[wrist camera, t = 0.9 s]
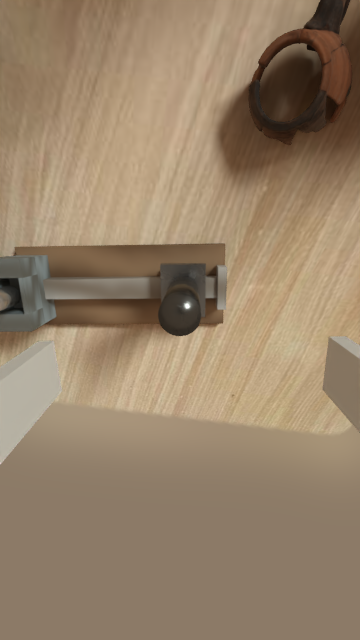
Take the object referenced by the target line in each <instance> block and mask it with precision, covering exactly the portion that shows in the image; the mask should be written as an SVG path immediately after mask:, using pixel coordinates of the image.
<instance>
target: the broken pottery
mask: <svg viewBox="0 0 360 640" xmlns="http://www.w3.org/2000/svg"><path fill="white" fill-rule="evenodd" d="M349 2H350V0H320V2H319V5H318V7H317V10H316V12H315V14H314V16H313V17H312V18H311V20H310V21H309V22H307V23H306V25H305V26H304V28H303V29H297V30H293V31H290V32H288V33H285V34H283V35H282V36H280V37H278V38H277V39H276V40H275V41H274V42H272V43H271V44H270V46H268V47H267V48H266V50H265V51H264V53H263V54H262V56H261V57H260V59H259V61H258V63H259V67H258V69H257V70H256V71H255V73H254V76H253V79H252V82H251V85H250V89H249V107H250V112H251V115H252V118H253V121H254V123H255V125H256V126H257V128H258V129H259V130H260V131H262V130H263V132H264V134H265V135H266V136H268V137H270V138H273V139H277V140H279V141H281V142H283V143H285V144H288V145H291V141H292V139H293V137H294V134H295V132H296V131H297V130H298V129H299V130H300V131H302V132H306V133H308V132H311V131H314V132H318V131H319V130H320V129H321V128H323V127H324V126H325V124H326V120H325V115H326V98H327V97H329V98H331V99H332V100H334V102H335V103H336V104H337V107H336V110H335V112H334V114H333V115H332V117H331V119H330V122H331V123H332V122H334V121H335V120H336V119H337V118H338V116H339V115H340V113H341V111H342V109H343V107H344V105H345V103H346V99H347V96H348V95H349V92H350V88H351V81H352V65H351V61H350V56H349V52H348V49H347V47H346V45H345V44H342V40H341V38H340V36H339V30H340V25H341V23H342V20H343V18H344V16H345V13H346V11H347V8H348V5H349ZM296 43H299V44H300V43H305V44H307V50H312V51H316V52H317V53H318V55H319V57H320V60H321V64H322V78H321V83H320V87H319V90H318V93H317V95H316V97H315V99H314V100H313V102H312V103H311V105H310V106H309V107H308V108H307V110H306V111H304V112H303V113H302V114H301V115H300V116H298V117H297V118H295V119H293V120H292V121H288V122H276V121H273V120H271V119H270V118H268V116H267V115H265V113H264V111H263V110H262V107H261V104H260V98H259V87H260V79H261V77H262V74H263V72H264V69H265V68H266V67H267V66H268V64H269V63H270V61H271V60H272V59H273V57H274V56H275V55H276V54H277V53H278V52H280V51H281V50H282V49H284V48H285V47H287V46H289V45H292V44H296Z"/></svg>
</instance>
